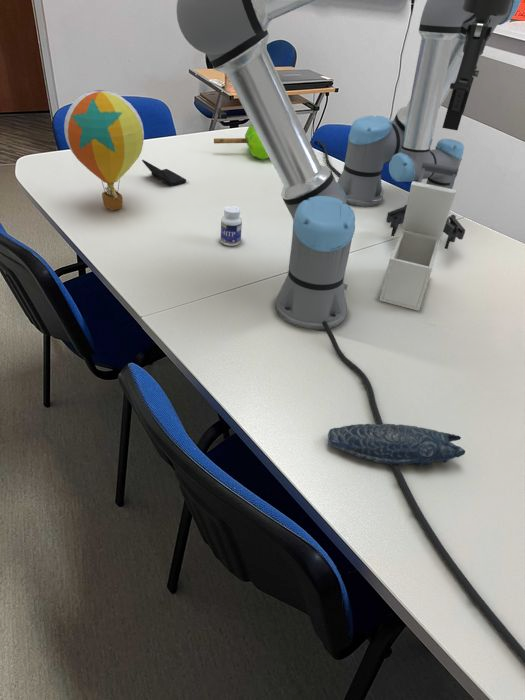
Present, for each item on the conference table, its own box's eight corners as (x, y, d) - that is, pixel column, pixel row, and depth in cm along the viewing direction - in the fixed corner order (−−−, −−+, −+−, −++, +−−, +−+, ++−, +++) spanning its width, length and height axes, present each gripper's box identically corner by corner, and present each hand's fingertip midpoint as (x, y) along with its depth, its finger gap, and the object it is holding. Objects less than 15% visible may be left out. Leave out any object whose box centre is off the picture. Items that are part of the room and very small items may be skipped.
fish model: (463, 478, 79) (473, 457, 76) (326, 461, 80) (331, 439, 77) (455, 446, 85) (464, 424, 82) (326, 429, 86) (331, 408, 83)
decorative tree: (211, 118, 187) (292, 118, 192) (211, 148, 193) (289, 147, 198) (217, 133, 173) (303, 132, 178) (217, 164, 179) (301, 163, 185)
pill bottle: (217, 243, 133) (217, 210, 128) (225, 235, 137) (226, 203, 132) (236, 248, 132) (237, 215, 127) (243, 239, 136) (245, 207, 131)
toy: (64, 203, 145) (44, 85, 127) (127, 189, 156) (117, 79, 137) (97, 229, 134) (80, 105, 116) (162, 213, 145) (156, 96, 126)
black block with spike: (190, 175, 164) (173, 153, 156) (179, 193, 163) (161, 172, 155) (166, 170, 170) (147, 148, 162) (155, 188, 169) (136, 167, 161)
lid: (455, 193, 105) (464, 162, 108) (411, 184, 108) (421, 153, 110) (440, 238, 120) (449, 209, 123) (401, 229, 122) (410, 201, 125)
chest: (418, 311, 116) (432, 268, 109) (379, 300, 118) (389, 258, 111) (427, 279, 127) (440, 239, 121) (391, 270, 130) (401, 230, 123)
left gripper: (473, -20, 96) (440, 103, 110) (463, -14, 78) (425, 132, 91) (515, -15, 95) (477, 109, 108) (515, -9, 76) (469, 140, 89)
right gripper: (472, 230, 145) (466, 262, 130) (385, 210, 152) (368, 239, 136) (481, 204, 141) (475, 235, 125) (391, 185, 147) (374, 212, 131)
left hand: (453, 120), depth 100 cm, fingers open, 13 cm apart
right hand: (420, 237), depth 130 cm, fingers open, 13 cm apart
